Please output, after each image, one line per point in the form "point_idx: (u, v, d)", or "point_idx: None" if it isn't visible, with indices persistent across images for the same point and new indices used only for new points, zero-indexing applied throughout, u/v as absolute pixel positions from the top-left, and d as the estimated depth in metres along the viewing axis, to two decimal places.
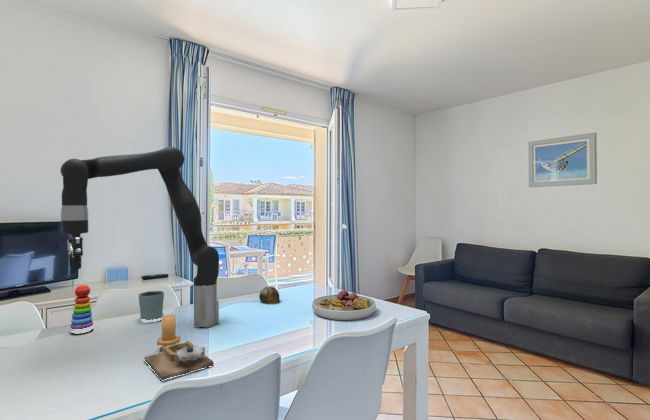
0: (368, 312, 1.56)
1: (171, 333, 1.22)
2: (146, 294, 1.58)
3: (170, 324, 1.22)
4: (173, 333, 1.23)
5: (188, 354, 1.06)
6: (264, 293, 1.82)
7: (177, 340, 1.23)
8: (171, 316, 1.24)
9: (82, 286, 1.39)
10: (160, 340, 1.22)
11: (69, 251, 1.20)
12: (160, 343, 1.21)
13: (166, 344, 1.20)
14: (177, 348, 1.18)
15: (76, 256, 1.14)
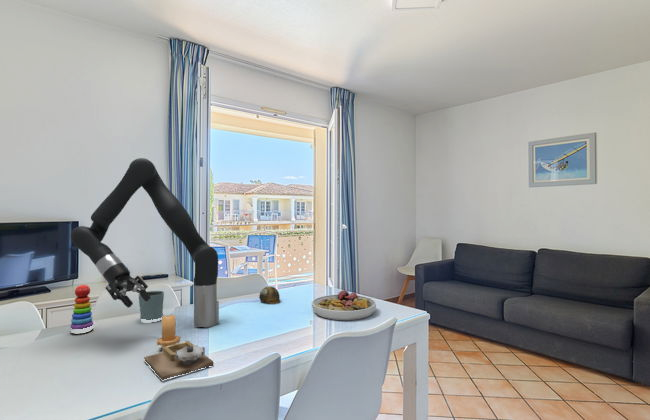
0: (368, 312, 1.56)
1: (171, 333, 1.22)
2: None
3: (170, 324, 1.22)
4: (173, 333, 1.23)
5: (188, 354, 1.06)
6: (264, 293, 1.82)
7: (177, 340, 1.23)
8: (171, 316, 1.24)
9: (82, 286, 1.39)
10: (160, 340, 1.22)
11: (136, 291, 1.30)
12: (160, 343, 1.21)
13: (166, 344, 1.20)
14: (177, 348, 1.18)
15: (118, 298, 1.21)
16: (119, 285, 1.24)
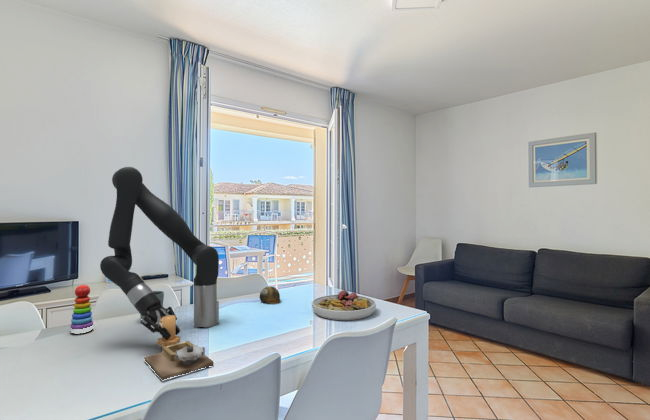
0: (368, 312, 1.56)
1: (171, 333, 1.22)
2: None
3: (170, 324, 1.22)
4: (173, 333, 1.23)
5: (188, 354, 1.06)
6: (264, 293, 1.82)
7: (177, 340, 1.23)
8: (171, 316, 1.24)
9: (82, 286, 1.39)
10: (160, 340, 1.22)
11: None
12: (160, 343, 1.21)
13: (166, 344, 1.20)
14: (177, 348, 1.18)
15: (156, 331, 1.19)
16: (152, 316, 1.21)
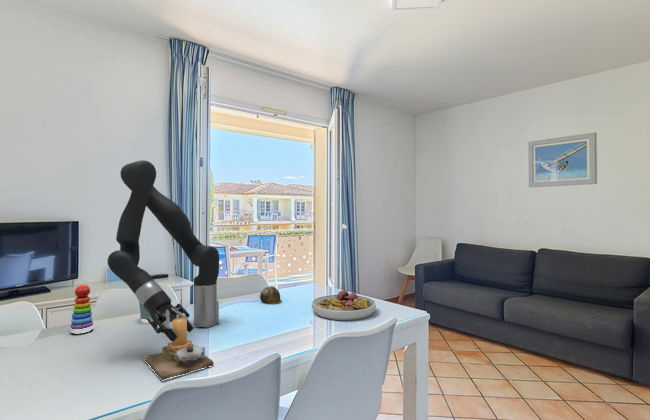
0: (368, 312, 1.56)
1: (182, 337, 1.14)
2: None
3: (181, 327, 1.13)
4: (184, 337, 1.14)
5: (188, 354, 1.06)
6: (265, 293, 1.82)
7: (189, 345, 1.15)
8: (182, 319, 1.16)
9: (82, 286, 1.39)
10: (171, 345, 1.14)
11: None
12: (171, 348, 1.12)
13: (177, 349, 1.12)
14: None
15: (161, 331, 1.10)
16: (161, 316, 1.13)
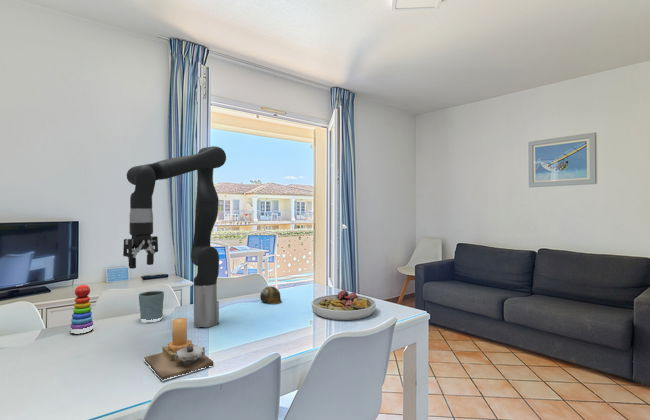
0: (368, 312, 1.56)
1: (182, 337, 1.14)
2: (146, 294, 1.58)
3: (181, 327, 1.13)
4: (184, 337, 1.14)
5: (188, 354, 1.06)
6: (265, 293, 1.82)
7: (189, 345, 1.15)
8: (182, 319, 1.16)
9: (82, 286, 1.39)
10: (171, 345, 1.14)
11: (145, 250, 1.30)
12: (171, 348, 1.12)
13: (177, 349, 1.12)
14: None
15: (127, 256, 1.21)
16: (136, 243, 1.23)
